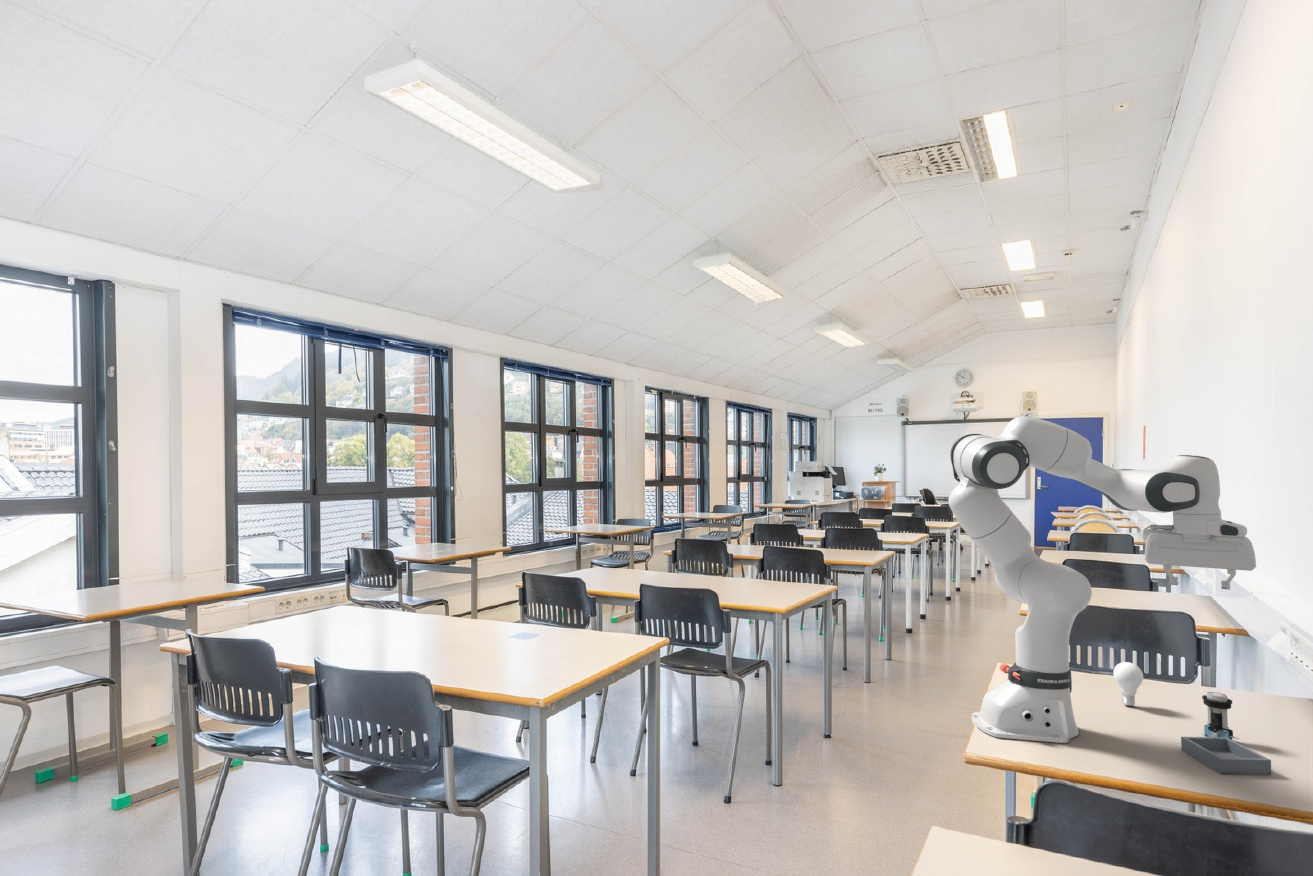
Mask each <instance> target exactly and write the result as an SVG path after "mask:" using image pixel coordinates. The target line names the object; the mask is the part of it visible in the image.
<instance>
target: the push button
mask: <svg viewBox="0 0 1313 876" xmlns="http://www.w3.org/2000/svg"><path fill="white" fill-rule="evenodd" d="M1201 698H1202V700H1203V702H1202V703H1203V704H1204V705H1206V706H1207V721H1206V723H1207V724H1204V725H1203V726H1204V727H1203V728H1204V730H1203V732H1204V737H1227V738H1229V739H1231V740H1233V739H1235V740H1240V738H1239V737H1236V736H1234V731H1233V729H1230V726H1228V725H1229V723H1228V710H1230V709H1232V704H1233V700H1232V699H1230V698H1228V695H1227V694H1226V693H1222V692H1217V691H1216V692H1215V691H1207V692H1206V694H1204V695H1202V697H1201ZM1235 740H1234V741H1235ZM1235 742H1237V743H1239V744H1240V742H1238V741H1235Z"/></svg>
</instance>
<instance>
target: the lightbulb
mask: <svg viewBox="0 0 1313 876" xmlns="http://www.w3.org/2000/svg"><path fill="white" fill-rule="evenodd" d="M1113 668H1114V669H1113V672H1112V673H1113V677H1114V680H1115V681H1116V683H1117V684H1118V685H1119V688H1120V691H1121V693H1122V703H1123V705H1125V706H1126V707H1130V708H1131V707H1133V706H1136V699H1135V698H1136V694H1137V690H1138V688H1139V687H1140V686H1141V685H1142V684H1143V681H1144V674H1143V671H1142V670H1141V668H1140V667H1139V666H1138V665H1137V664H1135V663H1132V662H1129V661H1123V662H1120V663H1117V664H1116V665H1115V666H1114V667H1113Z"/></svg>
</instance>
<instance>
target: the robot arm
mask: <svg viewBox="0 0 1313 876" xmlns="http://www.w3.org/2000/svg"><path fill="white" fill-rule="evenodd" d="M1092 457H1093V449H1092V445H1091V442H1090V441H1089V439H1088V438H1086V437H1084V436H1083V435H1081V434H1080V433H1078V432H1077V431H1074V430H1072V429H1070V428H1069V427H1068V428H1067V427H1064V426H1062V425H1059V424H1057V423H1055V422H1052V421H1049V420H1044V419H1041V418H1037V417H1032V416H1028V415H1027V416H1026V415H1021V416H1017V417H1014V418H1013V419H1012V420H1010V421H1008V423H1007V424H1006V426H1004V428H1003V431H1002V433H1000V434H999V435H998V436H995V437H993V436H989V435H985V434H984V435H983V434H981V433H969V434H966V435H963V436H961V437H959V438H958V439H957V440H955V442H954V443H953V444H952V446H951V449H950V461H951V466H952V471H953V477H954V479H955V480H956V481H957V482H958V485H956V486H955V487H954V488H953V489H952V490H951V492H950V493H949V496H948V499H947V500H948V507H949V508H950V510H951V512H952V514H953V515H954V517H955V519H956V521H957V522H958V524H959V525H960V527H961V529H962V530H963V531H964V532H965V533H966V534H967V536H968V537H969V538H970V539H971V541H972V542H973V543H974V544H975V546H976V547H977V548H978V549H979V551H980V552H981V553H982V554H983V555H984V556H985V557H986V559H987V560H988V562H989V564H990V565H991V567H992V568H993V571H994V581H995V584H996V587H997V588H998V589H999V591H1001V592H1002V593H1003V594H1004V595H1006V596H1007V597H1009V598H1011V599H1012V600H1014V601H1016V602H1020V603H1022V604H1025V605H1027V607H1028V608H1027V613H1026V618H1025V620H1024V622H1023V624H1021V625H1019V626H1018V627H1017V628H1016V630H1015V632H1014V638H1015V641H1014V642H1015V644H1014V645H1015V662H1014V663H1013V664H1012V665H1011V666H1010V665H1008V664H1007V663H1005V662H1003V663H1001V664H1000V665H999V670H1000V671H1001V672H1003V673H1004V674H1007V679H1006V680H1005V681H1003V682H1001V683H1000V684H999V685H997V686H995V688H993V689H991V690H990V691H988V692H986V693H985V695H984V697H983V699H982V702H981V709H980V711H975V712H972V714H971V717H970V719H971V722H972V723H973V725H975V727H977V728H978V729H979V730H980V731H982V732H984V733H985V734H987V735H989V736H992V737H995V738H1000V739H1011V740H1022V741H1023V740H1024V741H1033V742H1034V741H1036V742H1047V743H1060V744H1067V743H1069V742H1070V739H1073V738H1075V737H1077V736H1078V735H1079V729H1078V727H1077V726H1078V725H1077V723H1076V720H1075V719H1076V718H1075V716H1074V710H1073V704H1072V703H1073V702H1072V696H1071V693H1072V689H1073V688H1072V685H1073V680H1072V669H1070V636H1071V630H1072V627H1073V625H1074V621H1075V620H1076V618H1077V616H1078V615H1079V614H1080V613H1081V612H1082V611H1084V610H1085V609H1086V608H1087V607H1088V605H1089V604H1090V601H1091V599H1092V596H1093V595H1092V593H1093V591H1092V586H1091V584H1090V581H1089V580H1088V578H1087V577H1086V575H1083V574H1082V573H1081V572H1079V571H1077V570H1076V569H1073V568H1072V567H1069V566H1067V565H1064V564H1061V563H1056V562H1050V561H1046V560H1044V559H1042V558H1041V557H1039V556H1038V555H1037V554H1036V553H1035V552H1034V550H1033V548H1032V546H1031V543H1032V536H1031V533H1030V532H1029V530H1028V529H1027V528H1026V527H1025V526H1024V524H1023V523H1022V521H1020V519H1019V518H1018V517H1017V516H1016V515H1015V514H1014V512H1013V510H1011V509H1010V507H1009V506H1008V505H1007V504H1006V503H1005V502H1004V501H1003V500H1002V497H1001V496H1000V494H999V491H998V490H1003V489H1007V488H1010V487H1012V486H1013V485H1015V484H1016V483H1017V482H1018V481H1019V480H1020V479H1021V477H1022V475H1023V474H1024V472H1025V471H1026V469H1027V468H1028V467H1032V468H1035V469H1037V470H1040V471H1042V472H1044V473H1047V474H1049V475H1052V476H1057V477H1060V478H1065V479H1070V480H1071V479H1072V480H1073V481H1075V482H1078V483H1080V484H1082V485H1085V486H1087V487H1088V488H1091V489H1093V490H1095V491H1097V492H1099V493H1101V494H1102V495H1103V496H1104V497H1105V498H1106V499H1107V500H1108V501H1109V502H1110V503H1111V504H1112V505H1113V506H1115V507H1116V508H1117V509H1120V510H1123V511H1126V512H1128V511H1129V512H1130V511H1132V512H1133V511H1135V512H1136V511H1141V512H1149V513H1159V514H1161V513H1162V514H1166V513H1172V520H1173V521H1172V523H1173V524H1150V525H1148V526H1146V527H1144V528H1143V530H1142V539H1143V541H1144V542H1145V548H1144V549H1145V550H1144V561H1145V562H1146V563H1147V564H1149V565H1160V566H1161V565H1162V566H1163V567H1162V568H1163V571H1164V573H1165V574H1166V575H1167V577H1168V578H1169V585H1170V586H1179V576H1174V575H1173V573H1172V571H1171V570H1172V569H1173V568H1172V567H1173V566H1175V567H1189V568H1190V567H1191V568H1203V569H1205V568H1206V569H1216V570H1217V569H1220V570H1227V571H1226V572H1227V573H1226V574H1227V575H1229V576H1228V577H1227V579H1225V580H1222V579H1221V590H1229V591H1231V582H1232V581H1233V579H1234V578H1235V577H1236V574H1237V571H1249V572H1251V571H1253V570H1255V568H1257V562H1256V561H1257V559H1256V553H1255V549H1254V545H1253V543H1252V541H1251V539H1249V537H1247V534H1248V527H1246V526H1245V525H1244V524H1240V523H1235V522H1232V521H1230V520H1225V519H1223V518H1222V511H1221V508H1220V505H1219V500H1220V497H1221V482H1220V476H1219V471H1218V467H1217V464H1216V463H1215V461H1214V460H1213V459H1211V458H1209V457H1206V456H1202V455H1191V454H1179V455H1175V457H1174V458H1173V459H1172V460H1171V461H1169V462H1168V463H1166V464H1164V465H1162V466H1160V467H1157V468H1154V470H1153V469H1152V470H1151V469H1150V470H1149V469H1148V470H1147V469H1143V470H1141V469H1129V468H1121V469H1118V468H1117V469H1116V468H1113V467H1110V466H1108V465H1107V464H1104V463H1102V462H1100V461H1098V460H1095V459H1093V458H1092ZM979 714H980V718H979Z"/></svg>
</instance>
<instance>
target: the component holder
mask: <svg viewBox="0 0 1313 876" xmlns="http://www.w3.org/2000/svg"><path fill="white" fill-rule="evenodd" d="M1237 742H1238V741H1236V742H1235V740H1233V739H1232V740H1231V739H1229V738H1227V737H1205V736H1180V744H1181V745H1180V748H1181V749H1180V750H1181V752H1183V753H1184V754H1186V755H1188V756H1189V757H1191V758H1193V759H1194V760H1196V761H1198V762H1200V763H1201V764H1203V765H1204V766H1206V767H1208V768H1210V769H1211V770H1213V771H1215V772H1216V773H1217V774H1218V773H1219V774H1220V775H1225V776H1226V775H1229V776H1230V775H1231V776H1232V775H1233V776H1234V775H1235V776H1237V775H1238V776H1272V759H1270V758H1267V757H1266V756H1264V755H1261V754H1260V753H1258V752H1256V751H1254V750H1253V749H1250V748H1249V747H1246V746H1245V745H1243V744H1240V742H1239V743H1237Z"/></svg>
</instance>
